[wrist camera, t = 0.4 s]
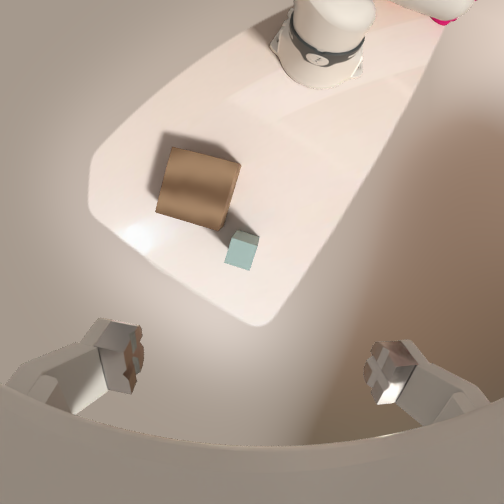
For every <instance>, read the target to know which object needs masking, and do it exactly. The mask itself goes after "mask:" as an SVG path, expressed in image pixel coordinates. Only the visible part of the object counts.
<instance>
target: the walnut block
mask: <svg viewBox="0 0 504 504" xmlns="http://www.w3.org/2000/svg"><path fill="white" fill-rule="evenodd" d="M240 168H241V165H240V164H238V163H235V162H231V161H228V160H224V159H220V158H216V157H213V156H209V155H205V154H201V153H197V152H193V151H188V150H184V149H180V148H176V147H172V149H171V153H170V156H169V160H168V163H167V167H166V171H165V174H164V178H163V182H162V186H161V190H160V194H159V198H158V202H157V207H156V211H155V212H156V213H160V214H163V215H166V216H170V217H173V218H176V219H180V220H183V221H186V222H190V223H193V224H196V225H200V226H203V227H206V228H209V229H213V230H216V231H219V230H220V229H221V228H222V227H223V226H224V223H225V219H226V216H227V212H228V209H229V205H230V202H231V199H232V195H233V192H234V188H235V185H236V182H237V178H238V175H239V172H240Z"/></svg>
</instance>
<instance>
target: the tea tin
mask: <svg viewBox="0 0 504 504" xmlns="http://www.w3.org/2000/svg"><path fill="white" fill-rule="evenodd" d="M258 242H259V237H258V236H255V235H252V234H249V233H246V232H242V231H239V230H237V231H236V233H235V234H234V235H233V237H232V239H231V242H230V245H229V249H228V252H227V255H226V258H225V262H224V263H227V264H230V265H233V266H236V267H240V268H243V269H246V270H249V271H250V268H251V264H252V261H253V258H254V255H255V252H256V249H257V246H258Z"/></svg>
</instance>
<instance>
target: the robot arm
mask: <svg viewBox="0 0 504 504" xmlns="http://www.w3.org/2000/svg"><path fill="white" fill-rule="evenodd" d="M389 1H391V2H393V3H395V4H398V5H400V6H402V7H404V8H407V9H410V10H413V11H416V12H419V13H422V14H424V15H427V16H430V17H433V18H436V19H439V20H442V21H448V20H453V19H456V18H458V17H460V16H462V15H464V14H465V13H466V12H467V11H468V10H469V9H470V8H471V7H472V5H473V3H474V1H475V0H389ZM287 17H289V18H288V19H287V20H285V21H284V22H283V25H282V27H281V29H280V30H279V31H278V33H277V34H276V36H275V37H274V38H273V40H272V41H271V43H270V48H271V50H272V51H273V52H274V53H275V54H276V55H277V56H278V57H279V59H280V62H281V64H282V67H283V68H284V70H285V72H286V73H287V74H288V75H289V76H290V77H291V78H292V79H293V80H295V81H296V82H298V83H299V84H301V85H304V86H306V87H309V88H313V89H330V88H334V87H337V86H339V85H340V84H342V83H343V82H345V81H347V80H351V79H357V78H360V77H361V75H362V73H363V42H364V39H365V35H366V33H367V32H368V30H369V29H370V27H371V26H372V24H373V23H374V21H375V17H376V8H375V4H374V2H373V0H294V8H291V9H290V10H289V12H288V14H287ZM277 41H279V42H277ZM357 68H358V69H357ZM141 338H142V329H141V327H140V325H135V324H131V323H125V322H120V321H116V320H111V319H105V318H98V319H97V320H96V322H95V323H94V324H93V325H92V327H91V328H90V329H89V331H88V332H87V333H86V335H85V336H84V338H83V339H82V340H81V341H80V343H77V342H75V343H72V344H70V345H67V346H65V347H62V348H60V349H58V350H55V351H53V352H50V353H48V354H45V355H43V356H40V357H38V358H35V359H33V360H30V361H28V362H25V363H23V364H21V365H20V367H19V368H18V369H17V370H16V372H15V373H14V374H13V375H12V377H11V378H10V379H9V381H8V382H7V383H6V384H5V385H4V384H2V383H0V504H504V398H502V399H500V400H497V401H495V402H493V403H490V402H489V401H488V399H487V398H486V397H485V396H484V394H483V393H482V392H481V391H480V389H479V388H478V387H477V386H476V385H474V384H472V383H470V382H468V381H466V380H464V379H462V378H460V377H458V376H456V375H454V374H452V373H450V372H448V371H447V370H444V369H443V368H441V367H439V366H437V365H435V364H433V363H431V364H430V363H429V362H428V361H427V359H426V358H425V357H424V356H423V354H422V353H421V352H420V351H419V349H418V348H417V347H416V346H415V344H414V343H413V342H412V341H411V340H398V341H385V342H375V343H374V345H373V346H372V349H371V354H372V356H371V357H370V358H369V359H368V360H367V361H366V363H365V366H364V374H363V375H364V380H365V382H366V384H367V385H369V386H370V387H372V390H371V394H372V396H373V398H374V400H375V402H376V404H377V405H378V404H387V403H395V402H396V404H397V405H398V406H399V407H401V408H402V409H403V410H404V411H405V412H407V413H408V414H409V415H410V416H412V417H413V418H414V419H415V420H416V421H418V422H419V423H420V424H421V425H423V427H419V428H416V429H411V430H407V431H403V432H399V433H394V434H390V435H384V436H379V437H373V438H367V439H361V440H354V441H347V442H338V443H329V444H317V445H302V446H238V445H221V444H210V443H201V442H192V441H185V440H178V439H171V438H165V437H159V436H154V435H149V434H144V433H139V432H135V431H130V430H126V429H122V428H118V427H114V426H110V425H107V424H103V423H100V422H96V421H93V420H90V419H87V418H83V417H80V416H77V415H75V414H76V413H78V412H80V411H81V410H82V409H84V408H85V407H87V406H88V405H89V404H91V403H92V402H93V401H95V400H96V399H98V398H99V397H100V396H102V395H103V394H105V393H106V392H107V391H108V390H112V391H116V392H121V393H126V394H132V392H133V390H134V387H135V385H136V382H137V379H136V374H138V373H139V372H141V369H142V366H143V361H144V347H143V345H142V344H141V343H140V340H141Z"/></svg>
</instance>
